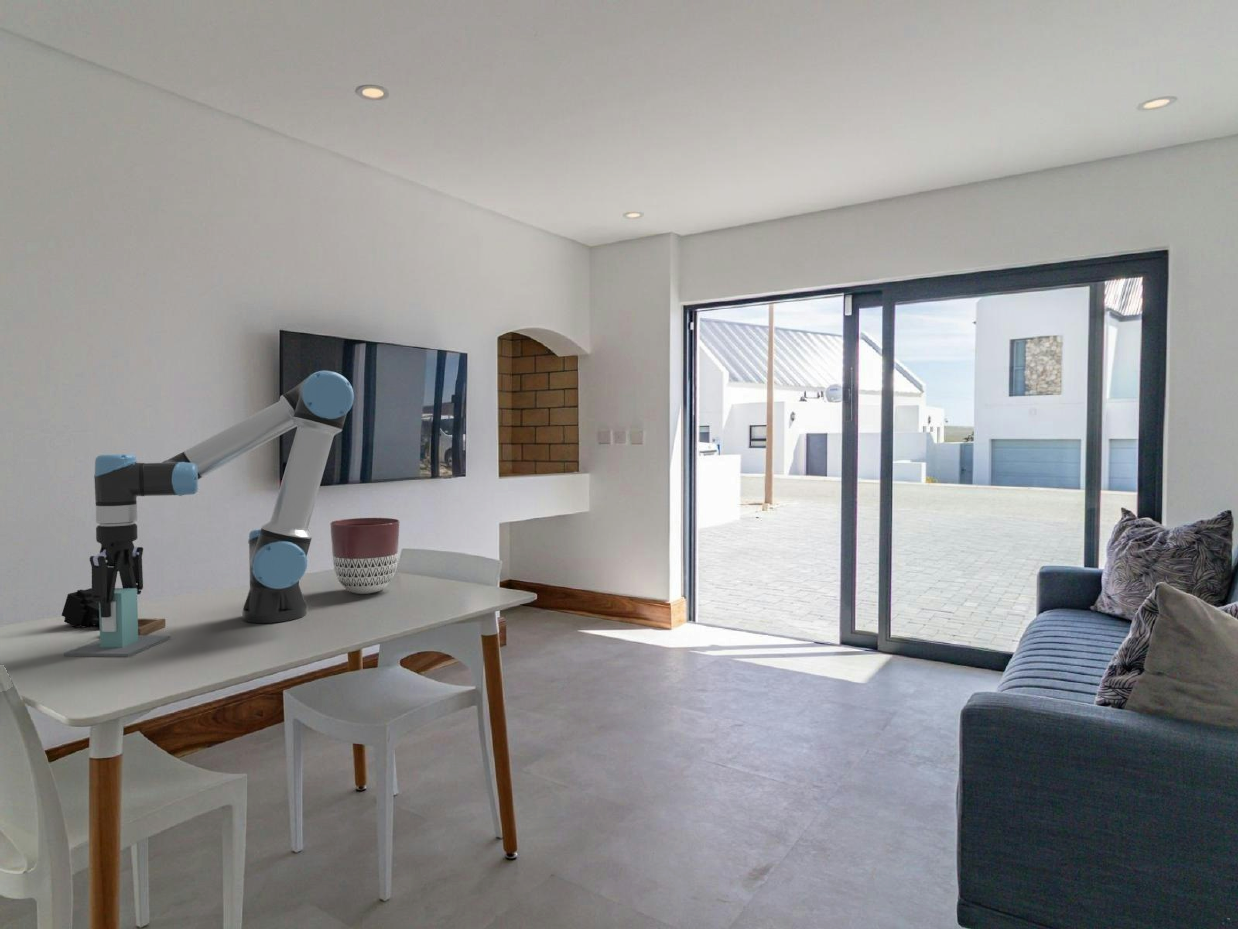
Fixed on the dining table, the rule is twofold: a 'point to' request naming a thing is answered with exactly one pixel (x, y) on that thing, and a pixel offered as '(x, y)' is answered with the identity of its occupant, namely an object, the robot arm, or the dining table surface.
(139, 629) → the wooden square frame
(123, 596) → the block
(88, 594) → the toy
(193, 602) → the dining table surface
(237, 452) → the robot arm
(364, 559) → the planter
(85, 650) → the pad
